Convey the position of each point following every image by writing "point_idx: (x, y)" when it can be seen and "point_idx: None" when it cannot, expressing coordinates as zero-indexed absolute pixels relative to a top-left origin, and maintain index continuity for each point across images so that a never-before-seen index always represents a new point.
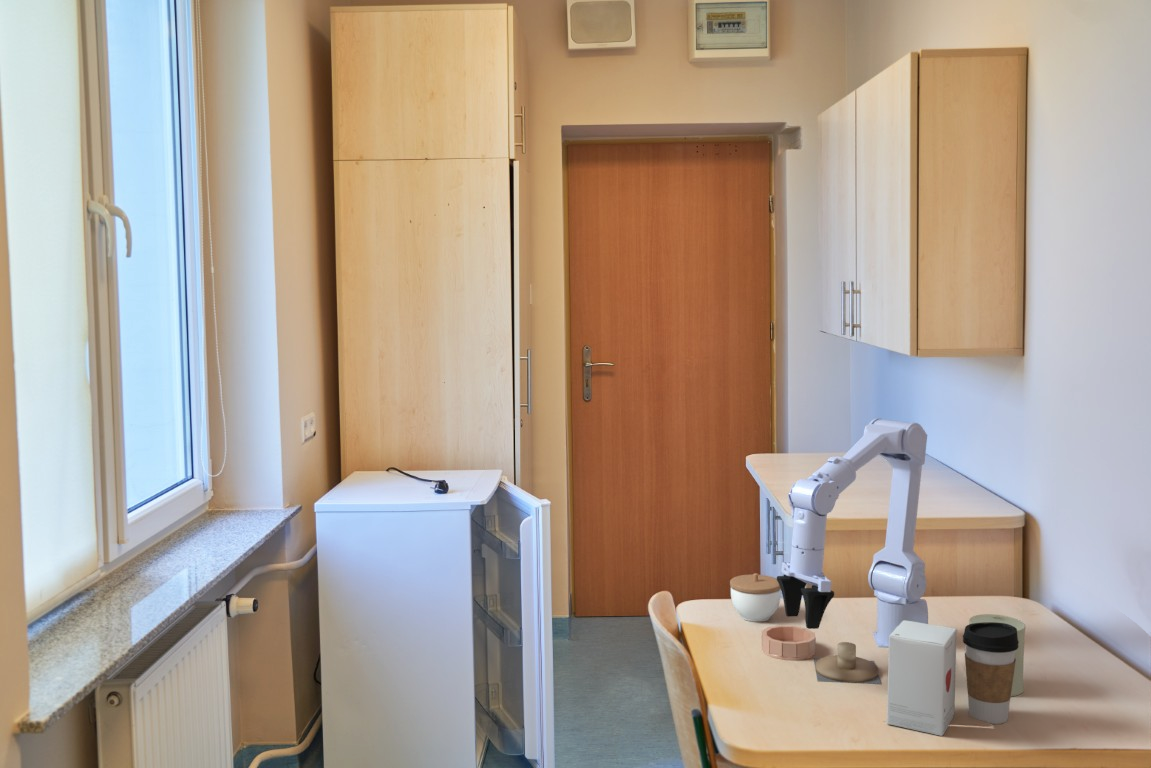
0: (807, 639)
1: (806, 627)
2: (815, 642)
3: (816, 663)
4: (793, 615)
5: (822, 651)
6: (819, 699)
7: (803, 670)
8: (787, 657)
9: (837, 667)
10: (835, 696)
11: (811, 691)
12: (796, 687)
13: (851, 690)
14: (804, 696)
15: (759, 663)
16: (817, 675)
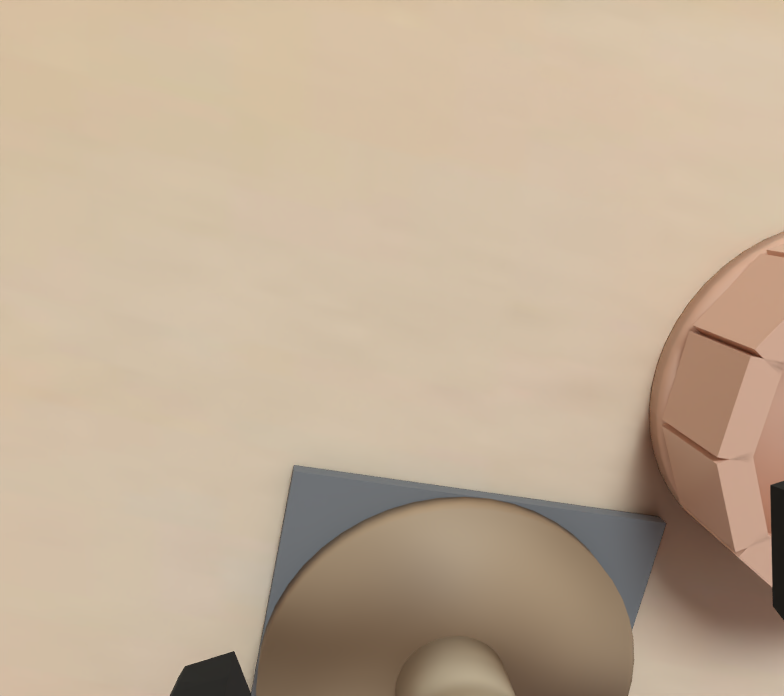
0: None
1: (233, 652)
2: None
3: (525, 523)
4: (779, 565)
5: None
6: (22, 420)
7: (512, 423)
8: (677, 361)
9: (441, 632)
10: (77, 526)
11: (159, 398)
12: (230, 316)
13: (175, 632)
14: (71, 334)
15: (673, 156)
16: (384, 489)
